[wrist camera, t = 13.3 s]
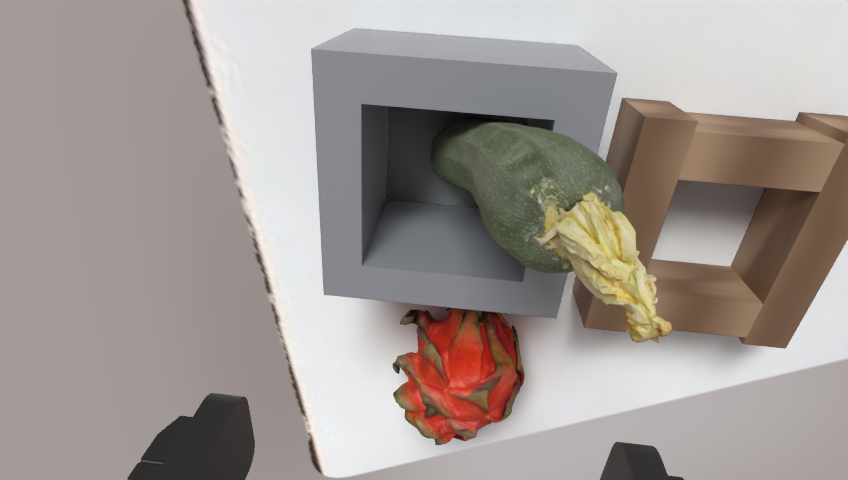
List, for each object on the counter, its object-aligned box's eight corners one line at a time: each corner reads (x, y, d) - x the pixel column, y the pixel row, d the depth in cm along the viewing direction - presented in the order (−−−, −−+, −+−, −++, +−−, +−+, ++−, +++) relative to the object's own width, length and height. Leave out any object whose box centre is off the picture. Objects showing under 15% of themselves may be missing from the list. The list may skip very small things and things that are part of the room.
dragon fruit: (430, 377, 40) (469, 250, 36) (516, 441, 36) (572, 304, 32) (356, 422, 34) (394, 272, 29) (451, 506, 29) (511, 345, 25)
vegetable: (432, 99, 27) (622, 152, 9) (502, 116, 28) (805, 198, 10) (414, 173, 29) (547, 360, 10) (482, 188, 30) (717, 382, 11)
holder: (577, 45, 25) (617, 73, 19) (537, 241, 31) (556, 318, 24) (354, 28, 26) (311, 48, 19) (356, 224, 32) (323, 294, 25)
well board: (847, 116, 26) (905, 138, 23) (751, 307, 32) (785, 348, 29) (622, 97, 27) (645, 116, 23) (572, 290, 33) (584, 327, 29)
